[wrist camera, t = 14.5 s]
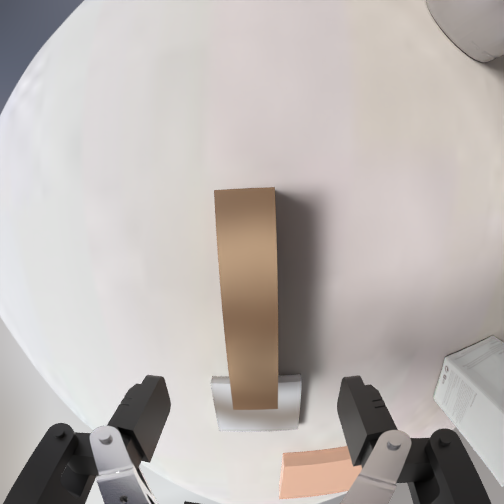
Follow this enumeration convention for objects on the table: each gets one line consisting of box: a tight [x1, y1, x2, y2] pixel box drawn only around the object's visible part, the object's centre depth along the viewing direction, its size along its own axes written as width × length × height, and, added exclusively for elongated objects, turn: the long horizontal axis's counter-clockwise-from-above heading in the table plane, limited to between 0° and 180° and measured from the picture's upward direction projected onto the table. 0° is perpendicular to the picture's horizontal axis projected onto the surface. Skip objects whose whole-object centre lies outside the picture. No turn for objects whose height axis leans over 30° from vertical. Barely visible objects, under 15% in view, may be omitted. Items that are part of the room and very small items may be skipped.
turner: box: [211, 187, 302, 432], centre depth 17 cm, size 20×7×4 cm, turn 2°
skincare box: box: [433, 336, 504, 487], centre depth 12 cm, size 8×6×15 cm
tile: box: [279, 446, 362, 499], centre depth 22 cm, size 2×9×9 cm
